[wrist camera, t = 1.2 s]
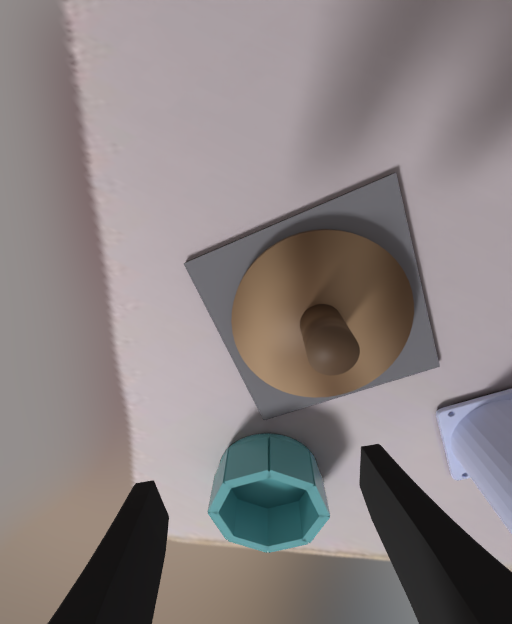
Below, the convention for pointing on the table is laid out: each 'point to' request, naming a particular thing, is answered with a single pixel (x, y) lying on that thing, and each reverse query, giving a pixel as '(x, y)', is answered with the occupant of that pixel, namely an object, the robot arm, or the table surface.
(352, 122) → the table surface
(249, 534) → the bowl
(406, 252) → the mat
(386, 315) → the lid
